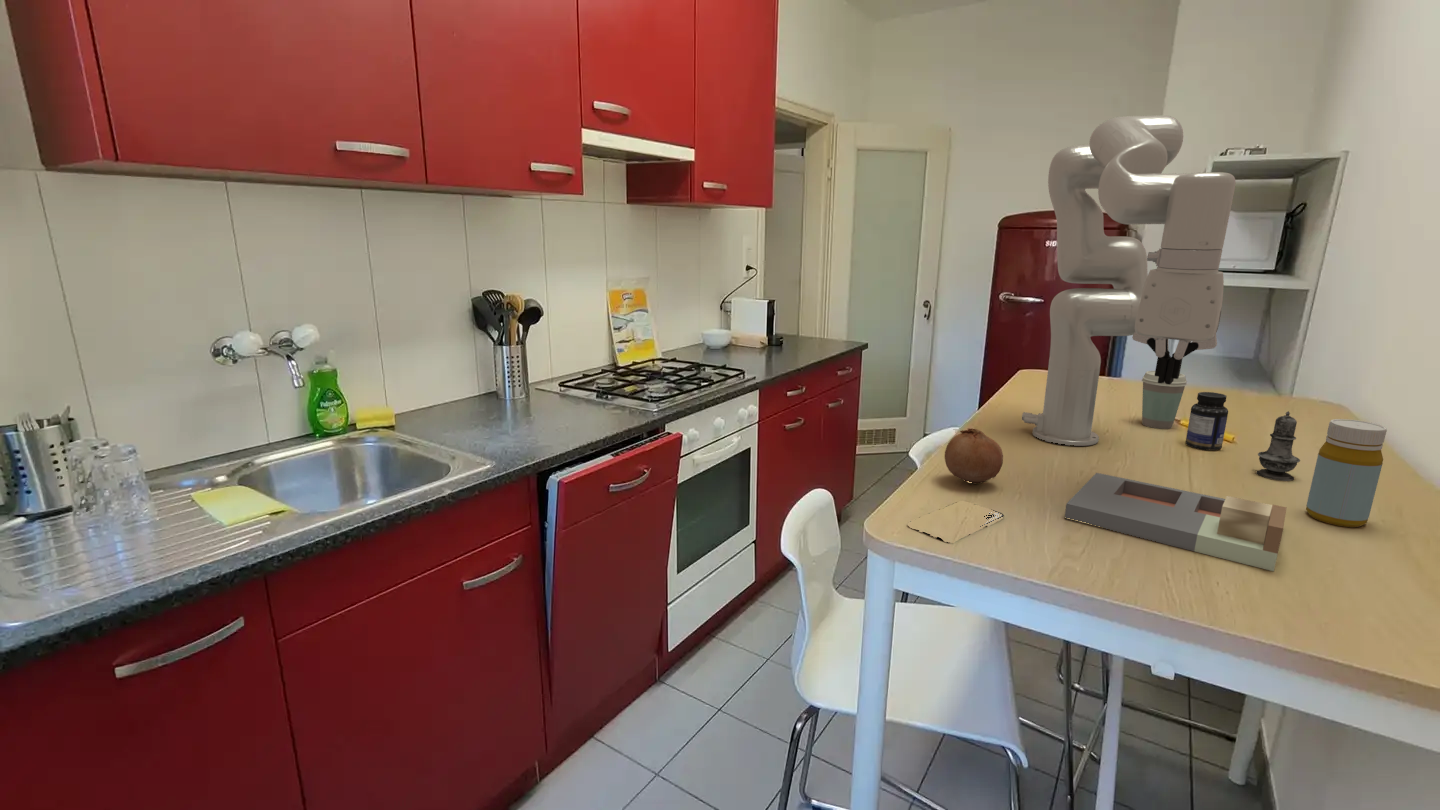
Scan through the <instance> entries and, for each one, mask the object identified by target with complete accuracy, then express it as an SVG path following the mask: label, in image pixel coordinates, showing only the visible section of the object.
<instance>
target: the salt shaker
mask: <svg viewBox="0 0 1440 810" xmlns="http://www.w3.org/2000/svg"><path fill="white" fill-rule="evenodd" d="M1290 414H1291V413H1290V410H1288V411H1286V412H1285V415H1282V416H1281V415H1280V416H1278V417H1276V419H1275V422H1274V427H1273V431H1272V433H1270V434H1269V436H1270V437H1271V438H1270V444H1269V447H1268V448H1267V450H1266V451H1265V450H1264V451H1259V452H1257V456H1258V460H1259V464H1260V466H1262V467H1263V468H1261V469H1259V470H1256V472H1255V473H1256V475H1258V476H1260V477H1262V478H1266V479H1269V480H1274V481H1280V482H1281V481H1285V482H1286V481H1287V482H1291V481H1294V480H1295V477H1294V476H1293V475H1291V474H1290V473H1289V472H1291V471H1293V470H1294V469H1295V468H1296V467H1297V465H1298V463H1300V462H1301V458H1299V457H1297V456H1295V455H1294V454H1293V445H1294V441H1295V440H1297V437H1296V436H1295V432H1296V428H1297V422H1298V421H1297V420H1296V418H1294V417H1292V416H1291V415H1290Z"/></svg>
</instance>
